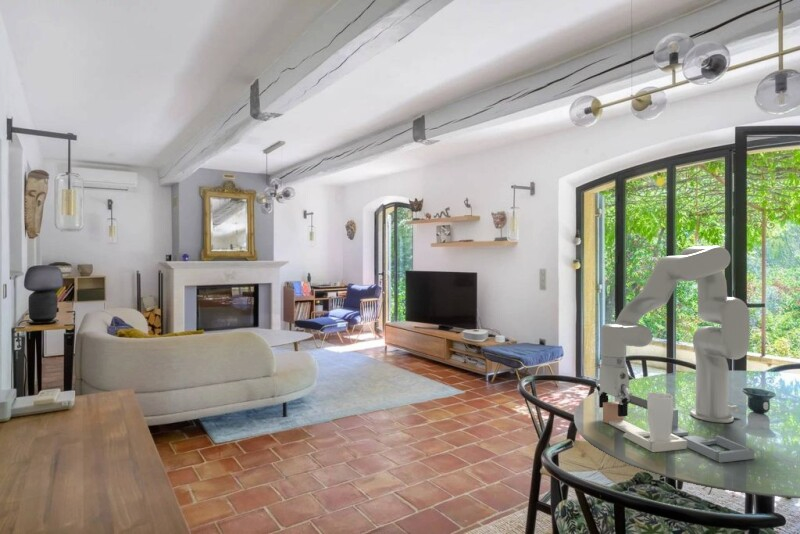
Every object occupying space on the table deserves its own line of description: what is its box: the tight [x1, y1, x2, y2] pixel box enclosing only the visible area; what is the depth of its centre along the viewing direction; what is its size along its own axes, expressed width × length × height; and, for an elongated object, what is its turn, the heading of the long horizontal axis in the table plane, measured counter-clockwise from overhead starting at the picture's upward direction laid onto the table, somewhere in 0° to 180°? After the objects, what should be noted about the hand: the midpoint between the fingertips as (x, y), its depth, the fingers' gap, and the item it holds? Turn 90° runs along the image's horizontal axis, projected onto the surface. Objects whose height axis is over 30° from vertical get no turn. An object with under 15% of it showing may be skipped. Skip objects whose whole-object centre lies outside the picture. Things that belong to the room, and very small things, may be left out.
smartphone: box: [621, 394, 647, 409], centre depth 183 cm, size 7×1×16 cm
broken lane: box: [671, 407, 755, 463], centre depth 142 cm, size 11×26×6 cm, turn 13°
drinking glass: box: [646, 391, 675, 442], centre depth 140 cm, size 7×7×15 cm
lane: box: [602, 400, 688, 453], centre depth 149 cm, size 11×26×6 cm, turn 13°
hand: (612, 411), depth 161 cm, fingers open, 9 cm apart
